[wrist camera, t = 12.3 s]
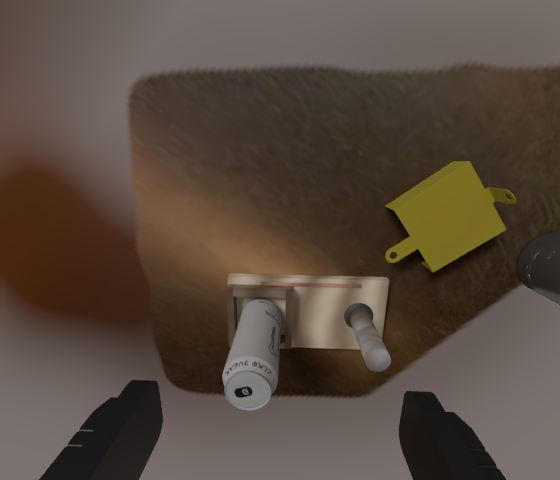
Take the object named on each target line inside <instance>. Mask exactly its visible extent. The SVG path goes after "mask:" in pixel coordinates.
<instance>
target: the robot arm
mask: <svg viewBox="0 0 560 480" xmlns="http://www.w3.org/2000/svg"><path fill="white" fill-rule="evenodd" d="M517 272H518V276H519V279H520V280H521V282H522V283H523V284H524V285H525V286H527V287H528V288H530V289H532V290H534V291H536V292H537V293H539V294H541V295H543V296H545V297H547V298H549V299H551V300H552V301H554V302H556V303H558V304H560V232H557V231H556V232H550V233H547V234H544V235H541V236H540V237H538V238H536V239H534V240H533V241H532V242H531V243H529V244H528V245H527V247H526V248H525V249H524V250H523V252H522V253H521V255H520V257H519V260H518V265H517ZM162 422H163V415H162V408H161V400H160V394H159V386H158V383H157V381H148V380H145V381H144V380H132V381H130V382H129V383H128V384H127V386H126V387H125V388H124V390H123V391H122V393H121V394H120V395H119V396H118V398H110V399H109V400H107V401H106V402H105V403H103V404H102V405H101V406H100V407H98V408H97V409H96V410H95V411H94V412H93V413H92V414H91V415H90V416H89V418H88V419H87V420H86V421H85V423H84V424H83V425H82V426H81V428H80V430H79V432H77V433H76V434H75V435H74V436H73V438H72V439H71V440H70V442H69V443H68V446H67V447H65V448H64V449H63V450H62V452H61V453H60V454H59V455H58V457H57V458H56V459H55V460H54V462H53V463H52V464H51V465H50V467H49V468H48V469H47V470H46V472H45V473H44V474H43V475H42V477H41V478H40V479H39V480H139V478H140V476H141V474H142V472H143V470H144V468H145V466H146V463H147V461H148V459H149V457H150V455H151V453H152V451H153V449H154V447H155V445H156V443H157V441H158V438H159V435H160V433H161V428H162ZM399 438H400V444H401V448H402V451H403V454H404V457H405V459H406V462H407V465H408V467H409V470H410V472H411V475H412V478H413V480H506V479H505V477H504V476H503V474H502V473H501V471H500V470H499V469H497V467H496V464H495V462H494V461H493V460H492V458H491V456H490V455H489V453H488V452H486V451H485V447H484V446H483V445H482V443H481V442H480V440H479V439H478V437H477V436H476V434H475V433H474V431H473V430H472V428H471V427H469V426H468V425H467V424H466V423H465V422H464V421H463V420H462V419H461V418H460V417H458V416H457V415H456V414H455V413H454V412H445V410H444V409H443V407H442V405H441V404H440V402H439V401H438V399H437V397H436V396H435V395H434V394H433V393H432V392H415V391H407V392H406V393H405V394H404V400H403V406H402V412H401V419H400V425H399Z"/></svg>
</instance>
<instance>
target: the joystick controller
mask: <svg viewBox="0 0 560 480" xmlns="http://www.w3.org/2000/svg"><path fill="white" fill-rule="evenodd" d="M388 288H389V279H388V278H387V277H355V276H311V275H268V274H229V275H228V287H227V289H226V296H227V316H228V336H229V347H231V346H232V342H233V339H234V336H235V333H236V330H237V327H238V323H239V320H240V317H241V314H242V311H243V309H244V307H245V306H246V305H247V304H248V303H249V302H251V301H253V300H257V299H264V300H268V301H271V302H272V303H274V304H275V305H276V306H277V307H278V309H279V310H280V313H281V331H280V349H291V347H299V348H330V349H360V350H361V353H362V355H363V358H364V361H365V364H366V366H367V367H368V368H369V369H370V370H372V371H376V372H379V371H383V370H385V369H387V368H388V367H389V365H390V363H391V357H390V355H389V353H388V351H387V349H386V347H385V345H384V343H383V341H382V336H383V328H384V320H385V312H386V304H387V296H388Z"/></svg>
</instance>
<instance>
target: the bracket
mask: <svg viewBox="0 0 560 480" xmlns="http://www.w3.org/2000/svg"><path fill="white" fill-rule="evenodd" d="M505 193H507V194H509V195H510V196H511V198H512V200H509V199H507V198H506V197H505ZM495 201H498V202H503V203H508V204H515V203H516V198H515V196H514V195H513V194H512V193H511V192H510V191H508V190H506V189H499V188H491V187H488V188H487V189H484V187H483V185H482V183H481V181H480V179H479V177H478V176H477V174H476V172H475V170H474V168H473V166H472V164H471V163H470V161H453V162H451V163H450V164H448V165H447V166H445V167H444V168H442V169H441V170H439V171H438V172H436V173H435V174H433V175H432V176H430V177H429V178H427V179H426V180H424V181H423V182H421V183H420V184H418V185H417V186H415V187H413V188H412V189H410V190H409V191H407V192H406V193H404V194H403V195H401V196H400V197H398V198H397V199H395V200H394V201H392V202H391V203H389V204H388V205H386V206H385V207H387V208H389V209H391V210H393V211H395V213H396V214H397V216H398V218H399V219H400V221H401V222H402V224H403V226H404V227H405V229H406V230H407V232H408V234H409V235H410V237H408V238H407V239H405V240H403V241H402V242H400V243H399V244H397V245H395V246H394V247H392V248H391V249H389V250H388V251H387V252H386V255H385V257H386V259H387V261H389V262H391V263H394V262H397V261H399V260H400V259H402V258H404V257H405V256H407V255H408V254H410V253H412V252H413V251H415V250H417V249H418V250H419V251H420V253H421V254H422V256H423V257H424V259H425V261H423V262H422V263H421V264H423V265H424V266H425V267H426V268H428V269H429V270H430V271H432V272H435V271H437V270H438V269H440V268H442V267H443V266H445V265H447V264H449V263H450V262H452V261H454V260H455V259H457V258H459V257H461V256H462V255H464V254H466V253H467V252H469V251H471V250H472V249H474V248H476V247H478V246H479V245H481V244H483V243H484V242H486V241H488V240H490V239H491V238H493V237H495V236H496V235H498V234H500V233H501V232H503V231H505V230H506V228H505V226H504V224H503V222H502V220H501V218H500V217H499V215H498V213H497V211H496V209H495V207H494V205H493V204H492V203H494V202H495ZM391 252H396V253H397V257H396V258H395V259H391V258H390V253H391Z"/></svg>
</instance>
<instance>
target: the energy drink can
mask: <svg viewBox="0 0 560 480" xmlns="http://www.w3.org/2000/svg"><path fill="white" fill-rule="evenodd" d="M280 331H281V313H280V310H279V309H278V307H277V306H276V305H275V304H274V303H272V302H271V301H268V300H264V299H257V300H253V301H251V302H249V303H248V304H247V305H246V306H245V307H244V309H243V311H242V314H241V317H240V320H239V323H238V327H237V330H236V333H235V336H234V339H233V342H232V346H231V349H230V352H229V355H228V358H227V362H226V365H225V368H224V371H223V383H224V386H225V389H224V390H225V395H226V398H227V399H228V401H229V402H230V403H231V404H232V405H233V406H235V407H237V408H240V409H243V410H256V409H259V408H261V407H263V406H264V405H266V404H267V402H268V401H269V399H270V397H271V394H272V393H273V392H274V391H275V389H276V387H277V383H278V368H279V349H280Z"/></svg>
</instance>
